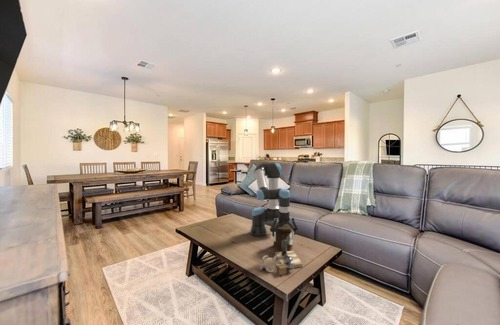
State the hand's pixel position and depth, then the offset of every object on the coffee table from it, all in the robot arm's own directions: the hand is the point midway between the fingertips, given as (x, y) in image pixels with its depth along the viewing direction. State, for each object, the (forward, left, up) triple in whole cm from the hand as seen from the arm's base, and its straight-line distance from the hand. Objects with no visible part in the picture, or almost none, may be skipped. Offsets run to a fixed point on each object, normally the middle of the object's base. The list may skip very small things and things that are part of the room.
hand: (283, 240), depth 155 cm
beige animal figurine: (+11, -12, -13) cm, 21 cm away
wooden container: (-15, +4, -13) cm, 20 cm away
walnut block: (+17, -7, -13) cm, 23 cm away
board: (+4, +2, -13) cm, 14 cm away
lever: (+8, 0, -11) cm, 13 cm away
